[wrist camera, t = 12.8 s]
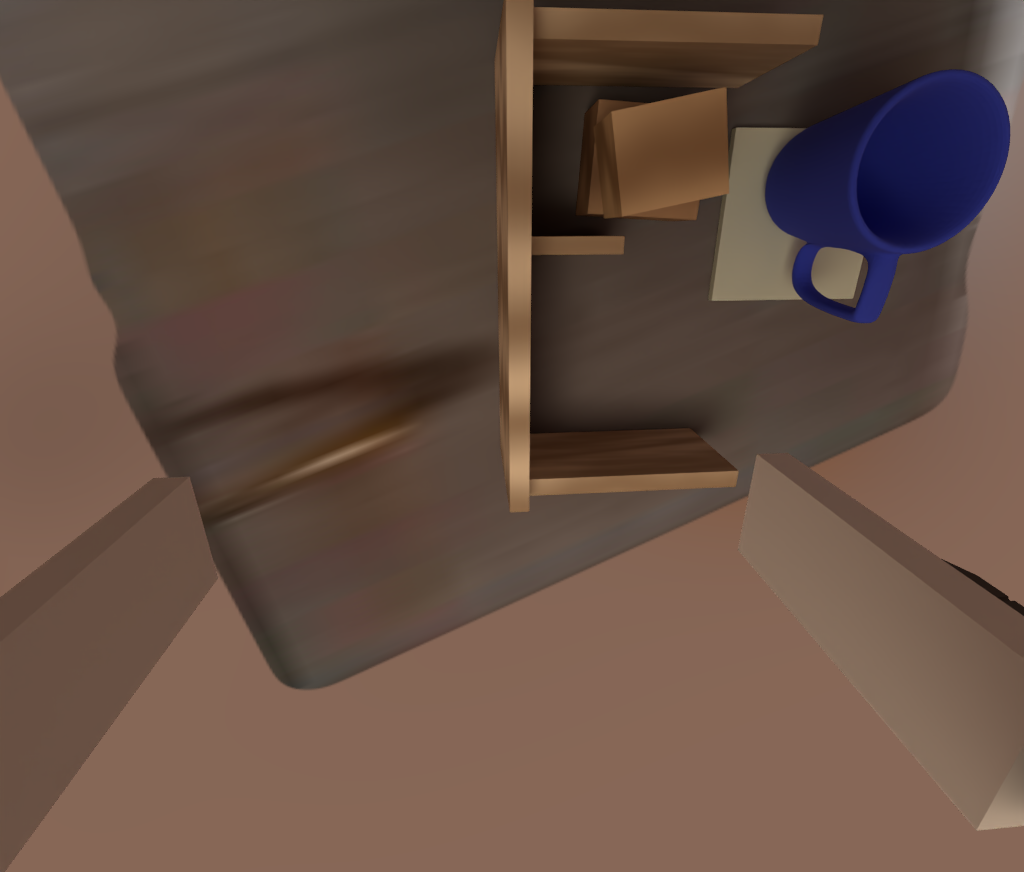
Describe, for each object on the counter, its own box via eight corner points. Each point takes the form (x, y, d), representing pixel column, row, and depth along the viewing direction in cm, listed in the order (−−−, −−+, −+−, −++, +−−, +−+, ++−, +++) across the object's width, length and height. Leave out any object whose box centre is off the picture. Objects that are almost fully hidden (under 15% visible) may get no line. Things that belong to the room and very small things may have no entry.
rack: (494, 60, 31) (505, -14, 21) (740, 65, 32) (852, -4, 22) (500, 448, 40) (509, 512, 31) (688, 441, 42) (750, 501, 32)
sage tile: (731, 129, 33) (736, 127, 32) (887, 130, 34) (894, 129, 33) (707, 299, 37) (711, 300, 37) (847, 297, 38) (852, 298, 37)
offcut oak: (593, 127, 29) (611, 111, 25) (693, 105, 29) (726, 86, 25) (604, 218, 31) (622, 216, 27) (698, 198, 31) (729, 193, 27)
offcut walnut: (583, 114, 32) (599, 99, 29) (687, 122, 33) (715, 108, 29) (574, 215, 34) (587, 213, 31) (672, 221, 35) (696, 219, 31)
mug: (724, 301, 37) (810, 324, 27) (764, 109, 32) (882, 60, 23) (828, 306, 38) (945, 329, 28) (881, 119, 33) (1041, 76, 24)
